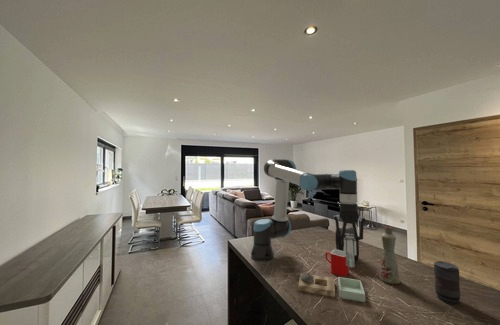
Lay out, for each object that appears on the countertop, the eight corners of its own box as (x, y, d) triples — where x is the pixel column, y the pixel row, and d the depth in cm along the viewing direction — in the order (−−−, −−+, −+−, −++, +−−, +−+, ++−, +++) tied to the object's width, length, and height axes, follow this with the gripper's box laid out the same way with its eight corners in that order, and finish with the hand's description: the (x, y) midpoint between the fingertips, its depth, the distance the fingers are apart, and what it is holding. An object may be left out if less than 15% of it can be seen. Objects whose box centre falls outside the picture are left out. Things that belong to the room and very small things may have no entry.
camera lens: (430, 294, 93) (428, 261, 94) (446, 293, 94) (445, 260, 95) (448, 306, 85) (447, 269, 86) (466, 305, 86) (464, 268, 87)
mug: (350, 272, 115) (349, 252, 115) (345, 277, 109) (344, 257, 109) (328, 265, 123) (328, 247, 123) (323, 270, 117) (322, 251, 117)
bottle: (401, 287, 99) (399, 228, 101) (379, 282, 104) (377, 226, 105) (399, 279, 107) (397, 224, 108) (379, 275, 112) (377, 222, 113)
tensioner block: (298, 290, 97) (298, 281, 98) (301, 277, 109) (301, 269, 109) (335, 297, 92) (334, 287, 92) (333, 283, 103) (333, 274, 103)
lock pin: (345, 267, 94) (344, 235, 95) (344, 262, 99) (343, 233, 99) (356, 268, 93) (356, 236, 93) (355, 264, 97) (354, 233, 98)
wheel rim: (359, 267, 121) (358, 232, 121) (342, 265, 122) (342, 231, 123) (350, 253, 140) (349, 224, 141) (335, 252, 142) (335, 223, 143)
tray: (339, 298, 91) (339, 289, 91) (338, 284, 103) (338, 276, 103) (365, 302, 88) (365, 294, 88) (360, 287, 99) (360, 280, 99)
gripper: (329, 203, 96) (331, 254, 95) (370, 204, 91) (372, 259, 90) (329, 201, 103) (330, 248, 102) (366, 202, 98) (368, 252, 97)
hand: (349, 253), depth 96 cm, fingers closed on lock pin, 4 cm apart
